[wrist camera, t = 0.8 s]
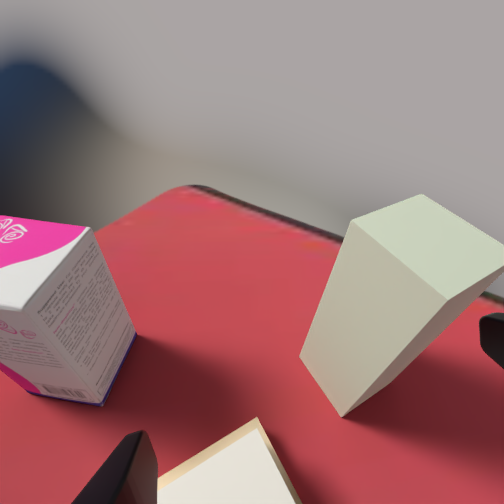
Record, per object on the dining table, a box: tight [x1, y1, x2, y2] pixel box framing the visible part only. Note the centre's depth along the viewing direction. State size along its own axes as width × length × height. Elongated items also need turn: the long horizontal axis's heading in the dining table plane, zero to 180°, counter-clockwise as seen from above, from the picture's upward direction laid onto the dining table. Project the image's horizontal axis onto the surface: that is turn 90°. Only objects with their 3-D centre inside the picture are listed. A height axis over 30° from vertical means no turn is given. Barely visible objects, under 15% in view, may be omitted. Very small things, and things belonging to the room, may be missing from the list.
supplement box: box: [0, 215, 137, 406], centre depth 18 cm, size 6×6×12 cm
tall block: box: [299, 194, 504, 418], centre depth 18 cm, size 5×5×14 cm
